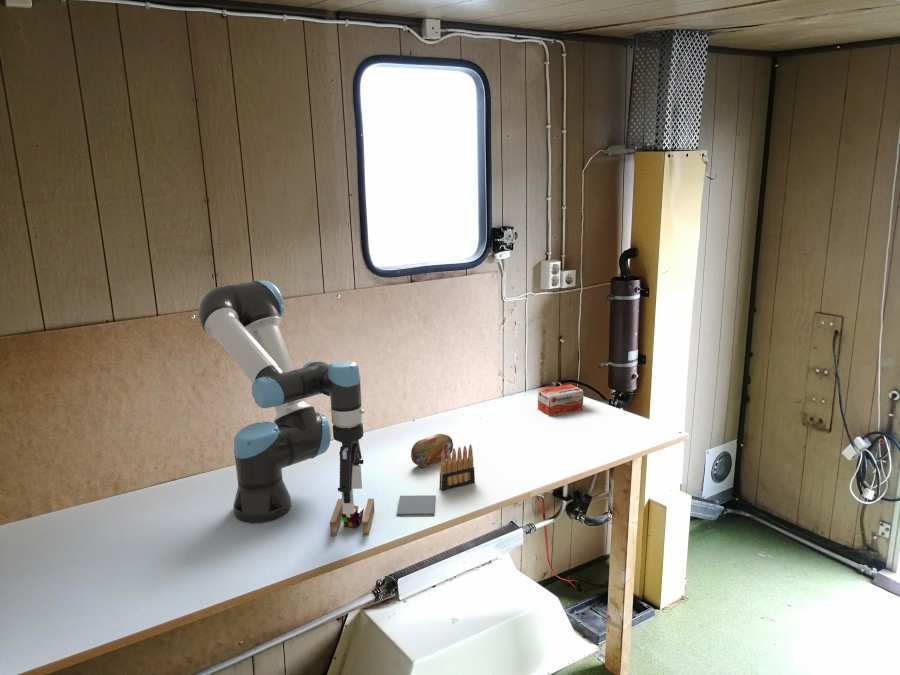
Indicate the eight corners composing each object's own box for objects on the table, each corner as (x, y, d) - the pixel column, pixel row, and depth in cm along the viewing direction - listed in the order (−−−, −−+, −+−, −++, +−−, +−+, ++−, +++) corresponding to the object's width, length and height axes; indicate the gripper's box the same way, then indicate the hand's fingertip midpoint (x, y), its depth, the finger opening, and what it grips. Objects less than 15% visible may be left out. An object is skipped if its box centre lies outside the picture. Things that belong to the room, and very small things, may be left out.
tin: (415, 470, 209) (414, 445, 206) (409, 467, 211) (408, 442, 209) (454, 457, 218) (453, 432, 216) (447, 454, 220) (447, 429, 218)
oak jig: (330, 536, 173) (329, 521, 172) (339, 512, 185) (338, 498, 184) (368, 535, 173) (367, 521, 172) (374, 512, 185) (373, 498, 184)
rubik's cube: (356, 531, 177) (358, 514, 175) (339, 525, 178) (341, 508, 177) (363, 523, 180) (365, 507, 179) (347, 517, 182) (348, 501, 180)
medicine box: (549, 417, 250) (549, 396, 248) (537, 409, 257) (537, 389, 255) (583, 410, 256) (584, 389, 254) (570, 403, 263) (571, 383, 261)
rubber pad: (396, 515, 183) (396, 513, 182) (400, 497, 192) (400, 495, 192) (434, 515, 182) (434, 513, 182) (435, 497, 192) (435, 495, 192)
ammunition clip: (442, 491, 196) (441, 452, 193) (439, 488, 197) (438, 449, 194) (475, 483, 200) (474, 444, 197) (472, 480, 202) (471, 442, 199)
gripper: (354, 441, 160) (360, 524, 165) (369, 405, 184) (373, 478, 189) (322, 442, 160) (329, 525, 165) (341, 406, 184) (346, 479, 189)
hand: (353, 500), depth 177 cm, fingers open, 13 cm apart
